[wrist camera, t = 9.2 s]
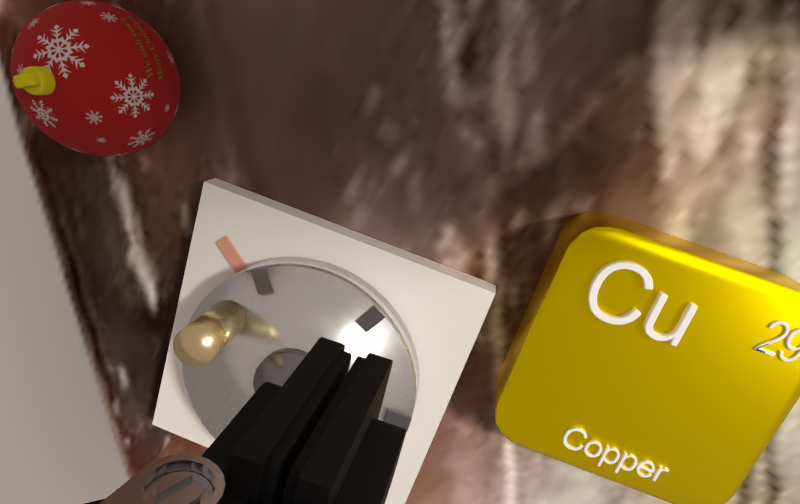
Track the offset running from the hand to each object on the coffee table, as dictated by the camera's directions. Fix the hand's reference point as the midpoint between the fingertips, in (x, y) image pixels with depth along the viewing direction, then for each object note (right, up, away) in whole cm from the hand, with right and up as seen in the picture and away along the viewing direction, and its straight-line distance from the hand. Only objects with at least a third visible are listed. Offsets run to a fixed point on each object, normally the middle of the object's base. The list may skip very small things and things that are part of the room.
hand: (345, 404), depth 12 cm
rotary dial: (-5, -5, +26) cm, 27 cm away
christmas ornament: (-15, +15, +24) cm, 32 cm away
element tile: (+17, -3, +24) cm, 29 cm away
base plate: (-5, -4, +28) cm, 28 cm away
